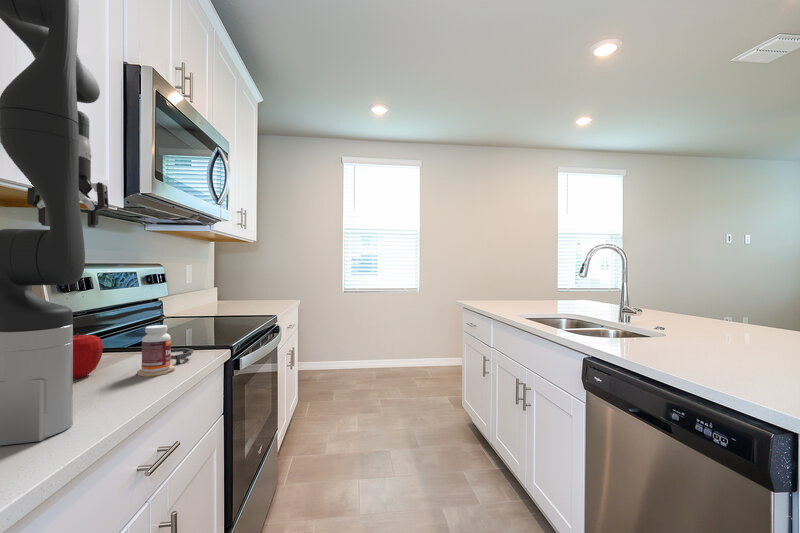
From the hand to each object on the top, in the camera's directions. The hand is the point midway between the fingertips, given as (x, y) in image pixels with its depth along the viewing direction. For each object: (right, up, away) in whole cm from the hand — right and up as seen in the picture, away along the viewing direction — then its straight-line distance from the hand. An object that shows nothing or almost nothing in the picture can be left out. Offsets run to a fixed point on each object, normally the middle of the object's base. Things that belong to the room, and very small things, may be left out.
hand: (69, 226), depth 85 cm
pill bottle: (+14, -36, +10) cm, 39 cm away
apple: (-3, -36, +6) cm, 37 cm away
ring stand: (+11, -36, +21) cm, 43 cm away
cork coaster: (+14, -36, +10) cm, 40 cm away
